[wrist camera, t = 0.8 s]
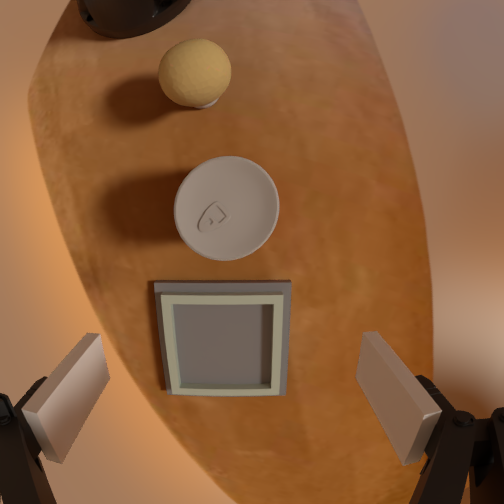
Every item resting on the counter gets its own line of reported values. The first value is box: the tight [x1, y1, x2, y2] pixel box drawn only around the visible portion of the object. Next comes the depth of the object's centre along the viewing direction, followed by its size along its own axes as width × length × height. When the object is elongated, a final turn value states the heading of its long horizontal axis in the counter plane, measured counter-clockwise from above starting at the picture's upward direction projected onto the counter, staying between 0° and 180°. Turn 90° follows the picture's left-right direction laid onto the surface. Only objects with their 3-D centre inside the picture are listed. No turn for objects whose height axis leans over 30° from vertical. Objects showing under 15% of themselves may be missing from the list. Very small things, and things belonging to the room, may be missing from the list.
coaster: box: [154, 280, 291, 397], centre depth 36 cm, size 15×15×2 cm
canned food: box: [174, 156, 279, 261], centre depth 28 cm, size 8×8×11 cm
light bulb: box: [158, 39, 231, 108], centre depth 26 cm, size 6×6×10 cm
